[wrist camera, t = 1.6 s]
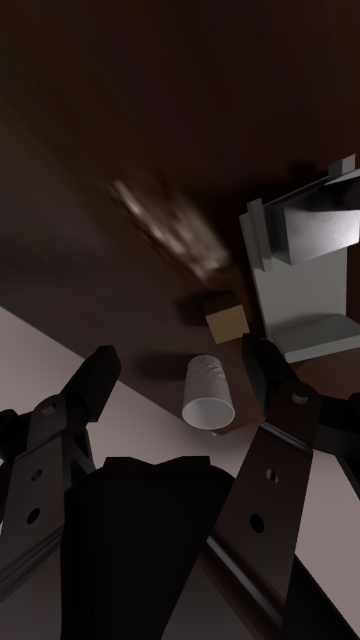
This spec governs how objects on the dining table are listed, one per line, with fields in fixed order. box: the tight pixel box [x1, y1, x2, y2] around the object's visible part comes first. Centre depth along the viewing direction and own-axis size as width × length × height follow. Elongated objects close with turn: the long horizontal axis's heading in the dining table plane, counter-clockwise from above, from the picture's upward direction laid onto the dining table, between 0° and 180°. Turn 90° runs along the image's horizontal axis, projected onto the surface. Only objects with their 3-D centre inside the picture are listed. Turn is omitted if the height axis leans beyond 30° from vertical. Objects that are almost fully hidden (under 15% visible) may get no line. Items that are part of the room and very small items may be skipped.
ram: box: [264, 169, 360, 266], centre depth 16 cm, size 6×6×11 cm
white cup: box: [182, 355, 235, 429], centre depth 31 cm, size 8×8×10 cm
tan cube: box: [204, 291, 250, 344], centre depth 27 cm, size 5×5×5 cm
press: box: [239, 154, 360, 363], centre depth 22 cm, size 21×11×6 cm, turn 23°
